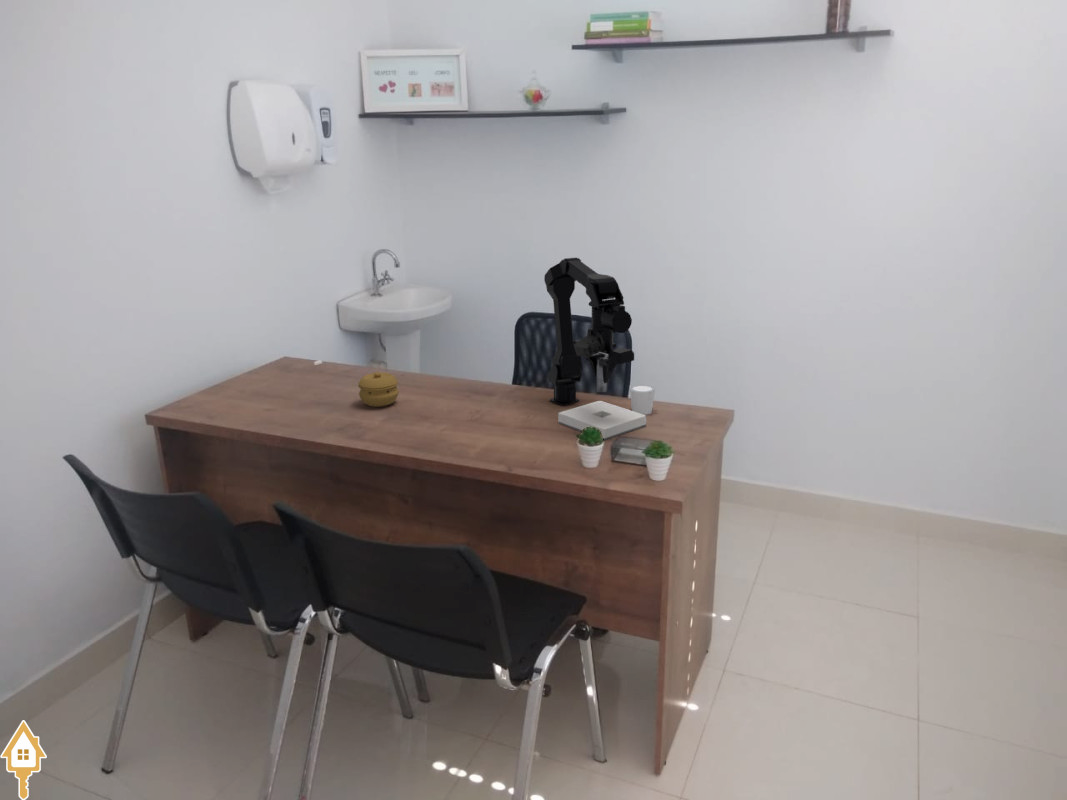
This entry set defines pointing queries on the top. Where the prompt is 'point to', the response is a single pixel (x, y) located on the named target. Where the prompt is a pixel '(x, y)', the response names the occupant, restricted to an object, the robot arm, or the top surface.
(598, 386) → the steel pin
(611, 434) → the bore board
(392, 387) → the pot
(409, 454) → the top surface
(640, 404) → the white cup
